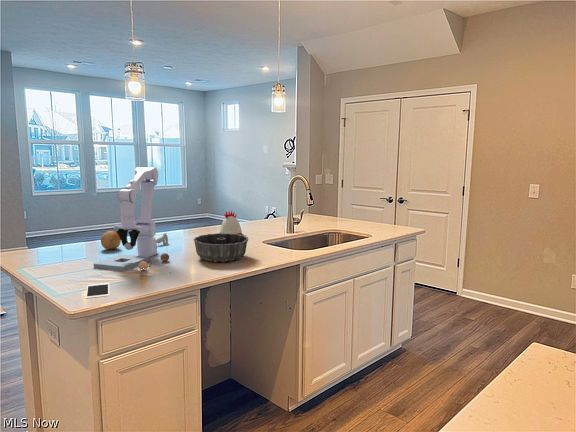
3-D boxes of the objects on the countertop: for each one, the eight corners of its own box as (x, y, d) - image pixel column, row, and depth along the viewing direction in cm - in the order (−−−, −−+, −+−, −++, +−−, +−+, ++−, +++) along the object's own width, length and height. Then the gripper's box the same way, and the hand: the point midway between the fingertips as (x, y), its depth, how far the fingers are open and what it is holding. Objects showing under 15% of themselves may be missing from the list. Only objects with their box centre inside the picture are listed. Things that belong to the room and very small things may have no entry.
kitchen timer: (217, 233, 268) (216, 210, 265) (237, 231, 273) (237, 209, 271) (223, 237, 255) (222, 213, 253) (244, 235, 261) (244, 211, 259)
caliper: (166, 243, 237) (166, 232, 236) (168, 243, 237) (167, 233, 236) (138, 250, 219) (137, 239, 219) (139, 251, 219) (139, 239, 218)
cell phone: (109, 284, 164) (109, 282, 164) (109, 296, 150) (109, 295, 150) (87, 286, 161) (87, 284, 161) (85, 299, 147) (85, 297, 147)
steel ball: (129, 249, 193) (128, 240, 192) (136, 248, 191) (135, 240, 191) (123, 250, 189) (121, 242, 188) (130, 250, 187) (129, 241, 187)
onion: (104, 252, 214) (103, 233, 213) (98, 249, 222) (97, 230, 220) (123, 249, 220) (122, 231, 219) (117, 246, 228) (116, 228, 226)
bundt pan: (259, 256, 209) (259, 236, 208) (225, 268, 187) (225, 246, 185) (218, 249, 223) (217, 231, 221) (182, 260, 200) (181, 239, 199)
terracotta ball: (142, 268, 185) (142, 259, 184) (150, 269, 184) (149, 260, 183) (136, 271, 181) (136, 262, 180) (144, 272, 180) (144, 262, 179)
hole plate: (121, 258, 202) (121, 254, 202) (149, 261, 198) (149, 257, 197) (93, 267, 185) (93, 263, 185) (123, 271, 181) (123, 266, 180)
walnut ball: (163, 260, 200) (163, 251, 199) (171, 260, 199) (170, 252, 198) (158, 262, 196) (158, 253, 195) (166, 262, 195) (165, 254, 194)
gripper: (107, 216, 186) (109, 246, 188) (135, 218, 182) (137, 248, 184) (118, 214, 193) (120, 243, 195) (145, 215, 189) (147, 245, 191)
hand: (129, 245), depth 190 cm, fingers closed on steel ball, 4 cm apart
